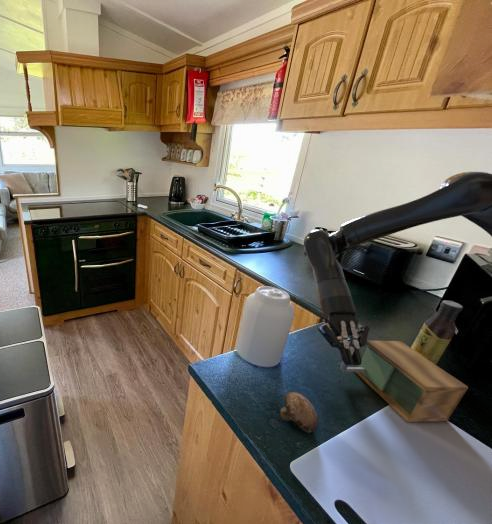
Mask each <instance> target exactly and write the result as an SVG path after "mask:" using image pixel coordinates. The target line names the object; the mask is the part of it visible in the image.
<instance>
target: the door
mask: <svg viewBox="0 0 492 524" xmlns="http://www.w3.org/2000/svg"><path fill="white" fill-rule="evenodd" d="M348 349H350V352H351V355H353V353H354V348H353V347H352V346H350V347H349V348H348ZM361 359H362V362H361V365H358V366H349V365H345V363H344V362H343V361H341V364H340V367H339V368H340V370H341V371H342V373H356V372H362V373H363V374H364V375H365V376H366V377H367V378H368V379H369V380H370V381H371V382H372V383H374V384H375V385H376V386H377V387H378V388H379V389H380V390H381V391H384V389H385V387H386V385H387V383H388V381H389V378H390V376H391V374H392V372H393V370H394V368H395V367H394V366H393V365H392V364H390V363H389V362H388V361H386V360H385V359H384V358H383V357H381V356H380V355H379V354H378V353H376V352H375V351H374V350H373V349H371V348H370V347H366V349H365V351H364V354H363V356H362V357H361Z"/></svg>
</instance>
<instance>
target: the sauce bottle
mask: <svg viewBox="0 0 492 524" xmlns="http://www.w3.org/2000/svg"><path fill="white" fill-rule="evenodd" d="M463 308H464V306H463V305H461V304H460V303H458V302H455V301H453V300H442V301H441V302H440V306H439V308H438V310H437V312H436V313H434V314H433V315H432V316H431V317H429V318H428V319H427V320H426V321H424V322H423V325H422V327H421V328H420V330H419V331H418V333H417V336H416V338H415V339H414V340H413V341H414V342H413V343H412V345H411V347H410V348H412V349H413V350H415V351H416V352H418V353H419V354H421V355H422V356H423V357H425V358H426V359H428V360H429V361H431V362H432V363H434V364H435V365H437V364H438V362H439V360H440V359H441V357H442V356H443V354H444V352H445V350H447V348H448V345H449V344H450V342H451V341H452V338H453V336H454V334H455V332H456V329H457V328H456V323H455V321H456V320H457V317H458V315H459V314H460V313H461V312H462V310H463Z"/></svg>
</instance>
